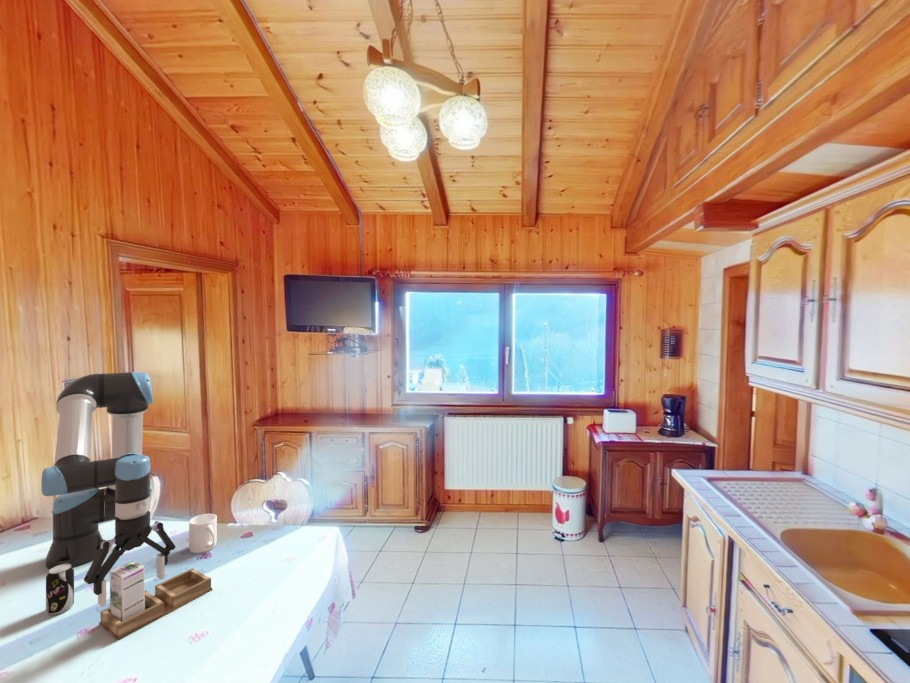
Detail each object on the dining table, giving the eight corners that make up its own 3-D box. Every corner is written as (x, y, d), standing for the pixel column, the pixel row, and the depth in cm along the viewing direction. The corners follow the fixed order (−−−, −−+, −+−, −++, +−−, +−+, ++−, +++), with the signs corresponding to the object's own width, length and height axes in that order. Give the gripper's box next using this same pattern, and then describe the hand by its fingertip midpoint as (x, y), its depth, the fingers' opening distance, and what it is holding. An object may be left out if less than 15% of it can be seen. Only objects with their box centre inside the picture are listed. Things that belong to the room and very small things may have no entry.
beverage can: (41, 618, 112) (41, 575, 111) (52, 605, 117) (52, 564, 117) (68, 613, 114) (68, 571, 114) (77, 600, 119) (77, 560, 119)
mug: (200, 559, 142) (200, 529, 141) (184, 549, 148) (184, 520, 148) (225, 549, 149) (226, 520, 148) (209, 539, 155) (209, 511, 155)
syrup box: (146, 616, 113) (146, 564, 112) (121, 630, 107) (121, 576, 107) (133, 610, 115) (133, 559, 114) (108, 624, 109) (108, 570, 109)
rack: (99, 624, 110) (99, 611, 110) (192, 578, 131) (192, 567, 131) (117, 640, 105) (117, 626, 104) (212, 589, 125) (212, 578, 125)
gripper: (79, 537, 99) (79, 623, 99) (188, 500, 120) (188, 571, 121) (67, 529, 102) (67, 612, 103) (175, 495, 124) (175, 564, 125)
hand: (132, 590), depth 112 cm, fingers open, 13 cm apart
